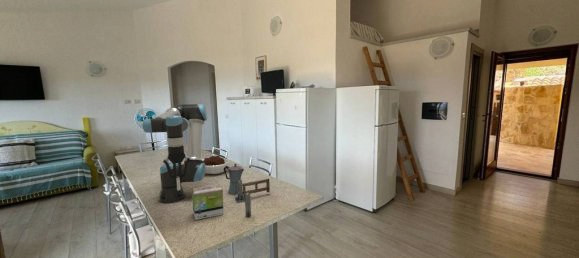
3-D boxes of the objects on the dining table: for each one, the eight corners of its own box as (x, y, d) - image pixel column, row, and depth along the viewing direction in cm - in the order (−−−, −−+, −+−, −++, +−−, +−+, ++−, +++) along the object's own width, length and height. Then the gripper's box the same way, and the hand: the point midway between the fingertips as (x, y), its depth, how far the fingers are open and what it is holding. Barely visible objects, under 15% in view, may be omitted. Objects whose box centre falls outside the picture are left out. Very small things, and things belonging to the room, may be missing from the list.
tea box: (195, 221, 130) (193, 194, 128) (193, 213, 139) (191, 188, 137) (224, 214, 137) (222, 189, 135) (220, 207, 146) (218, 183, 144)
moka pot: (242, 195, 163) (241, 166, 160) (221, 194, 166) (219, 165, 163) (247, 190, 172) (246, 162, 170) (227, 189, 175) (226, 161, 173)
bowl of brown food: (210, 167, 229) (209, 151, 227) (234, 169, 223) (234, 153, 221) (193, 176, 205) (192, 158, 203) (220, 178, 199) (219, 160, 197)
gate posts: (243, 218, 133) (242, 195, 131) (234, 199, 157) (233, 179, 156) (254, 216, 135) (253, 193, 133) (244, 197, 160) (243, 178, 158)
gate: (269, 192, 165) (269, 179, 163) (243, 197, 156) (243, 184, 155) (268, 191, 166) (268, 178, 165) (242, 196, 157) (242, 183, 156)
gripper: (160, 147, 122) (164, 193, 125) (189, 145, 127) (192, 189, 130) (162, 145, 129) (165, 188, 132) (189, 143, 134) (192, 185, 136)
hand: (178, 189), depth 131 cm, fingers closed
